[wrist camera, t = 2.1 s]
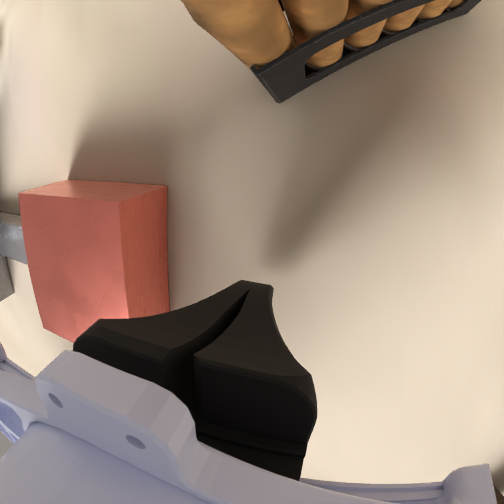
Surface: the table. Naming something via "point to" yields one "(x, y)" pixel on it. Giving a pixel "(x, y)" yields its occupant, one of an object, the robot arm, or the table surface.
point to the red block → (95, 252)
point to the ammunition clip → (313, 33)
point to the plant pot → (499, 496)
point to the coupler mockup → (10, 249)
